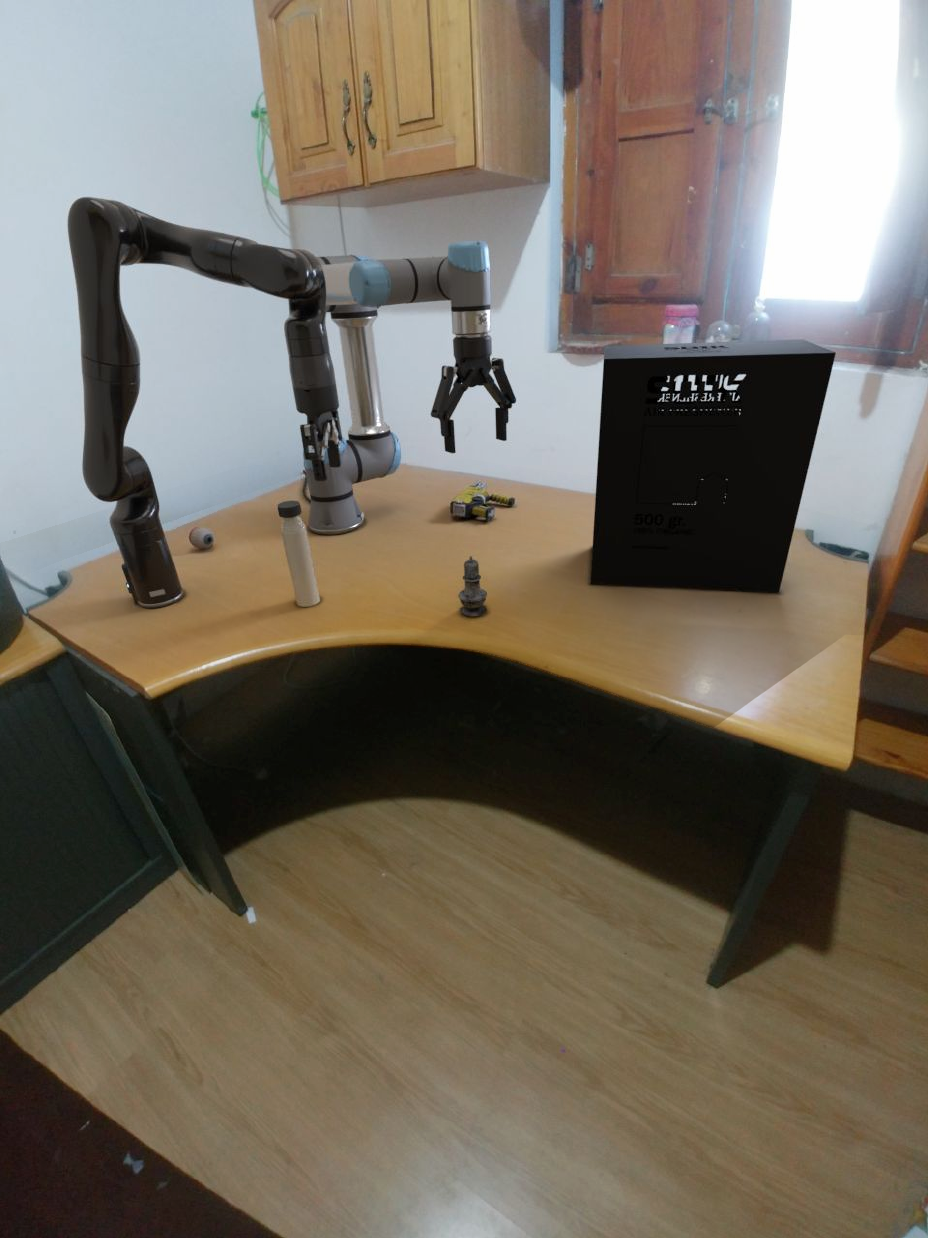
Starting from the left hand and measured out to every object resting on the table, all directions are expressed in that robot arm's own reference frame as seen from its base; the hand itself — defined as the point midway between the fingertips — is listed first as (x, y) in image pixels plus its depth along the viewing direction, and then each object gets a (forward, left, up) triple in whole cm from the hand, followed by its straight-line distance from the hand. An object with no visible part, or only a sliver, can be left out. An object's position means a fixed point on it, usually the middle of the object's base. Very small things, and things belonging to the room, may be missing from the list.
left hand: (328, 473), depth 114 cm
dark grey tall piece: (+27, -1, -28) cm, 39 cm away
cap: (-10, +1, -7) cm, 12 cm away
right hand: (+26, +20, 0) cm, 33 cm away
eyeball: (-49, +29, -28) cm, 63 cm away
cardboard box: (+70, +20, -28) cm, 78 cm away
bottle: (-10, +1, -28) cm, 30 cm away
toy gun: (+23, +59, -28) cm, 70 cm away
